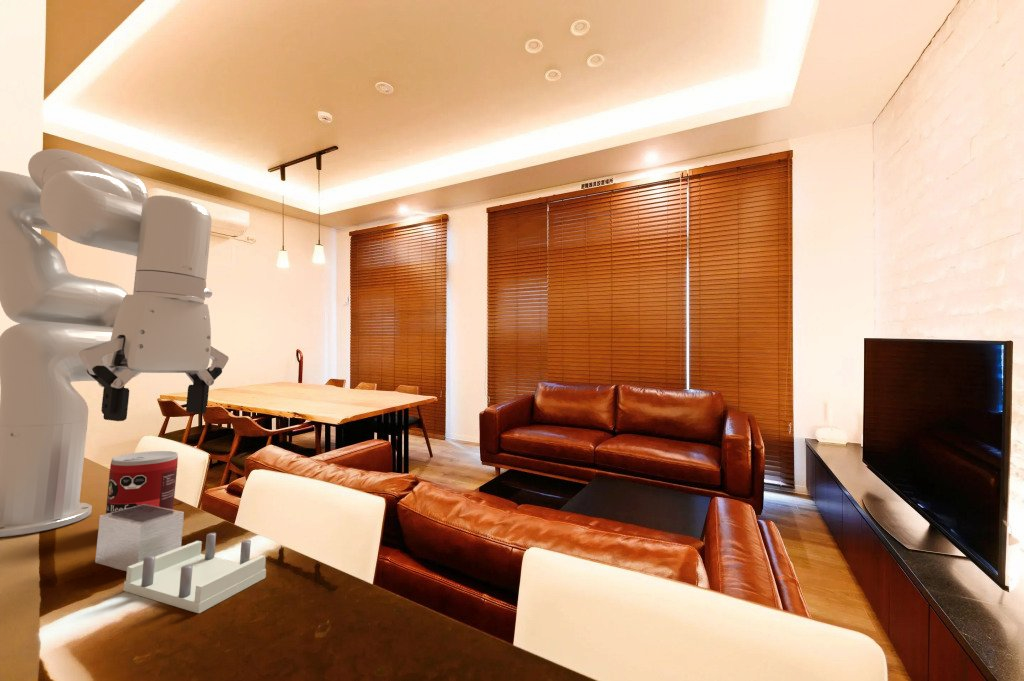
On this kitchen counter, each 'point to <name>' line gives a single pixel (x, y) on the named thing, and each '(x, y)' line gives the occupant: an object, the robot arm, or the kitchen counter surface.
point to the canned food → (142, 480)
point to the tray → (194, 575)
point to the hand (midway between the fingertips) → (158, 416)
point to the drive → (137, 535)
